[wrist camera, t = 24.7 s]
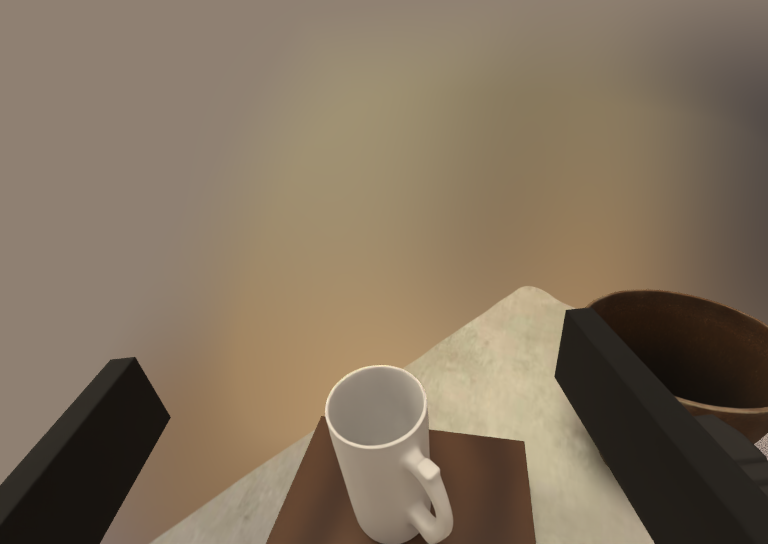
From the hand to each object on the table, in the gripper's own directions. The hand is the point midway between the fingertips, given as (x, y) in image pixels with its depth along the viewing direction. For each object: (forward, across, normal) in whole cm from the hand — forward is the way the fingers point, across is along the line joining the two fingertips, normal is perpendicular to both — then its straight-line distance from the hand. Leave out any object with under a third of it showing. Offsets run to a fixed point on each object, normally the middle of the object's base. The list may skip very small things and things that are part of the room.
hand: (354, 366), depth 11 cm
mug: (+7, 0, -23) cm, 24 cm away
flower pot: (+14, +25, -30) cm, 41 cm away
